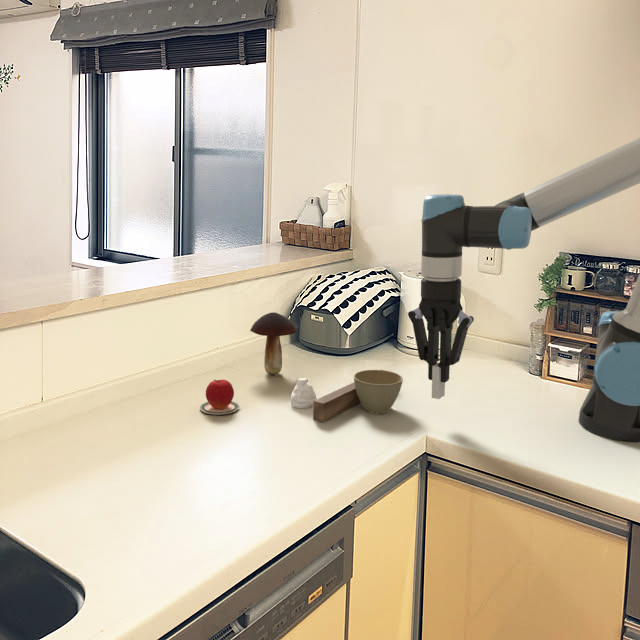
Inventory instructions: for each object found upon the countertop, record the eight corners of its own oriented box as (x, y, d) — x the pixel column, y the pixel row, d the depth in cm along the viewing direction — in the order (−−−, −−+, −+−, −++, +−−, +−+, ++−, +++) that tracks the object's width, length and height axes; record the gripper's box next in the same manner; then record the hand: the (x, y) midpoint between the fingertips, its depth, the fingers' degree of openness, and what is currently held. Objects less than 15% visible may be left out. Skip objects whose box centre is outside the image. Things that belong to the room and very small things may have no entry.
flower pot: (398, 420, 141) (400, 386, 139) (349, 415, 142) (350, 382, 141) (403, 403, 150) (404, 371, 148) (356, 399, 152) (357, 367, 150)
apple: (193, 413, 142) (192, 382, 141) (210, 400, 150) (210, 371, 148) (229, 418, 140) (229, 387, 138) (245, 405, 147) (245, 375, 146)
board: (389, 388, 159) (390, 371, 158) (323, 422, 138) (323, 403, 138) (380, 386, 160) (381, 369, 159) (313, 419, 140) (313, 400, 139)
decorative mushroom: (246, 369, 171) (245, 308, 167) (290, 365, 174) (290, 306, 170) (255, 383, 160) (255, 319, 157) (302, 379, 164) (303, 316, 160)
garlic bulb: (286, 379, 145) (298, 372, 150) (286, 407, 147) (297, 398, 151) (310, 383, 143) (321, 376, 148) (309, 411, 144) (320, 403, 149)
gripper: (481, 277, 132) (477, 397, 138) (419, 272, 140) (417, 385, 145) (465, 283, 126) (461, 408, 132) (401, 277, 134) (399, 395, 139)
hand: (438, 396), depth 138 cm, fingers closed
